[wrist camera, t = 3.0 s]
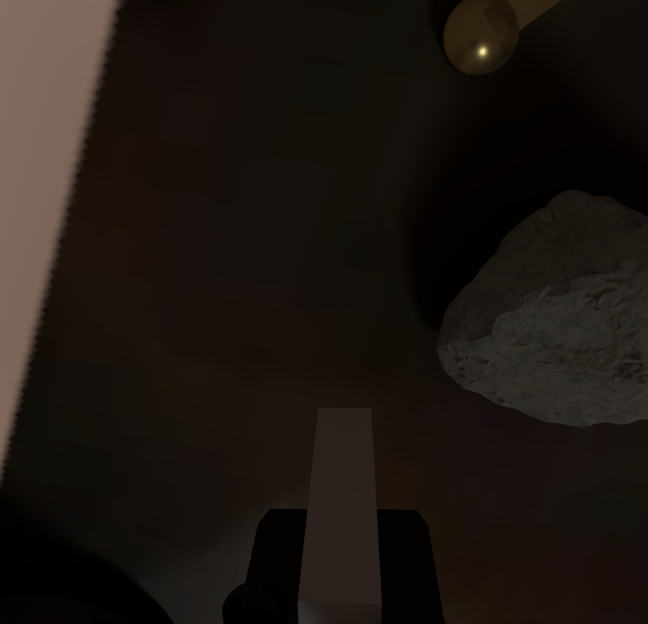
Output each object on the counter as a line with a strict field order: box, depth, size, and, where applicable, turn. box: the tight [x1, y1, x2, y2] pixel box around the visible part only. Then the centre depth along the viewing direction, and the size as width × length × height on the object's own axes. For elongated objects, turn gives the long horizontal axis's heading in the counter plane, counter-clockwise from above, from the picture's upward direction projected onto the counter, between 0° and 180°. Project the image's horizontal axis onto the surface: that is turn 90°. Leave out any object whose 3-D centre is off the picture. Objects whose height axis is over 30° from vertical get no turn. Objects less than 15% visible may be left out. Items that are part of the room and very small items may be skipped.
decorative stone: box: [436, 189, 648, 428], centre depth 27 cm, size 13×11×10 cm
